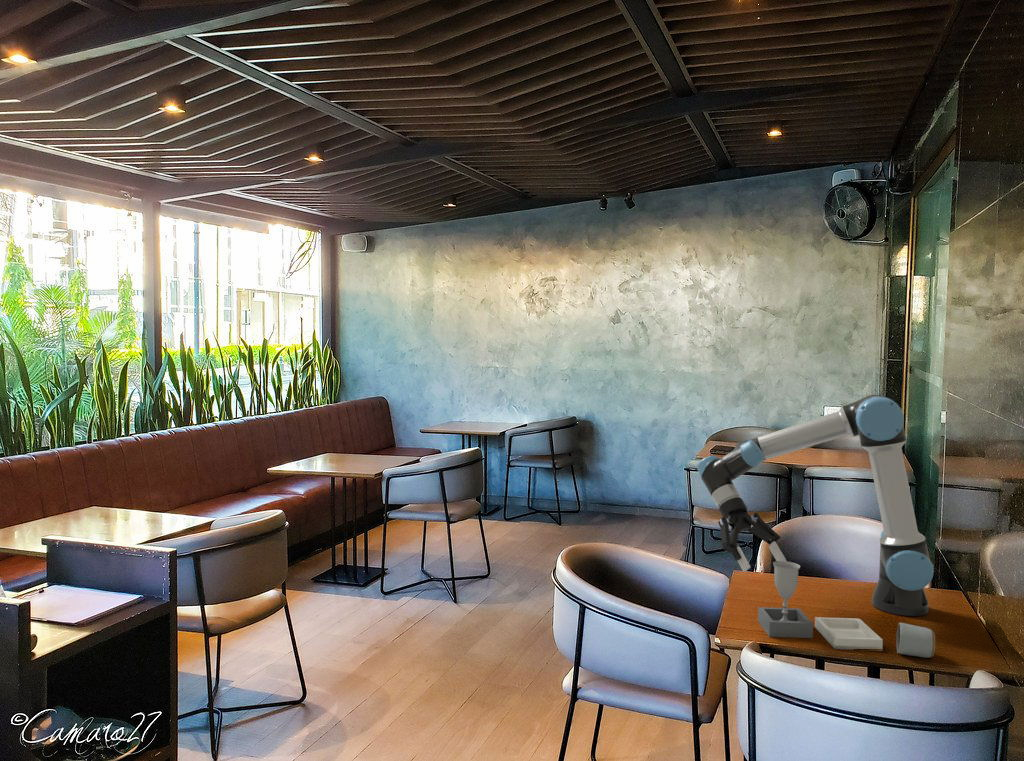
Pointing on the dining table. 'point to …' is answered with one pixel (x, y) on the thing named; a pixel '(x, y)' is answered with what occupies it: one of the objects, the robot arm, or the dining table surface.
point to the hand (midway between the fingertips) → (765, 566)
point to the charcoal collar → (785, 623)
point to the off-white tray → (848, 633)
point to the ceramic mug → (915, 640)
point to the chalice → (785, 582)
